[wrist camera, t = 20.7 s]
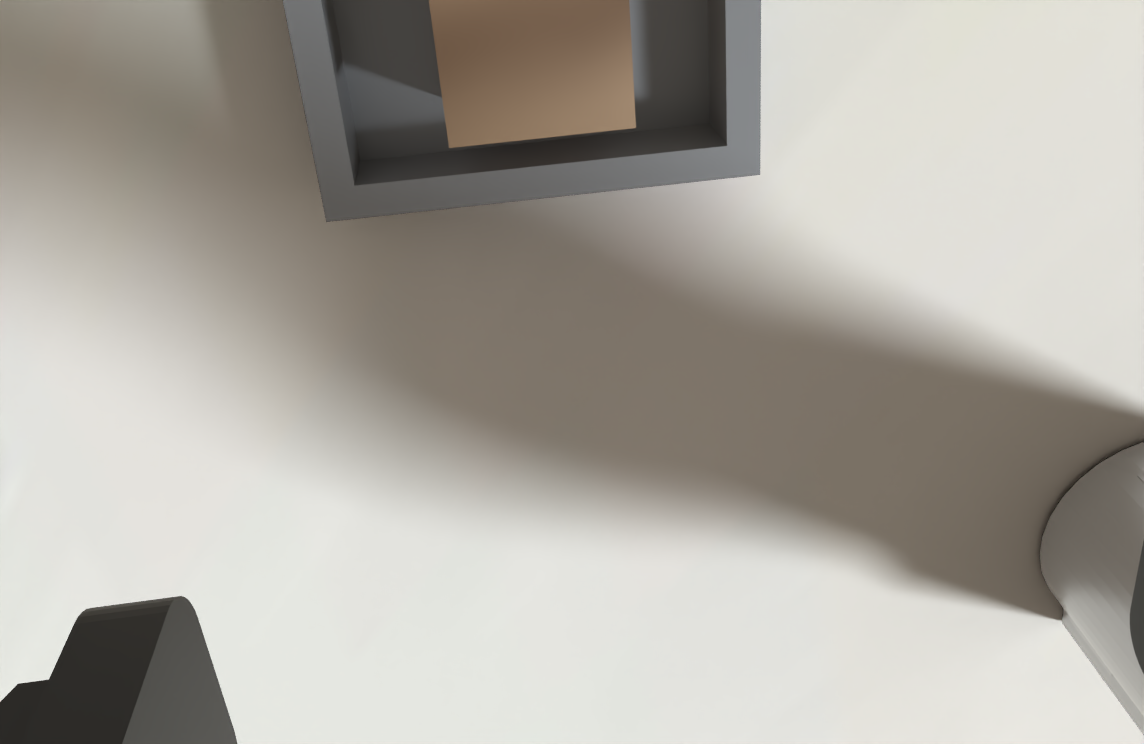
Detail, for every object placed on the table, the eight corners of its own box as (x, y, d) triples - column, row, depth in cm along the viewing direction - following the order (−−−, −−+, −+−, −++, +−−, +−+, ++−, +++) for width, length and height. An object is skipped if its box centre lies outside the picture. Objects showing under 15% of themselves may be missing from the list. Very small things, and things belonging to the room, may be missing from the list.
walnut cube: (611, 82, 34) (636, 128, 29) (448, 99, 33) (449, 148, 29) (600, -93, 31) (625, -72, 27) (425, -76, 31) (421, -52, 27)
